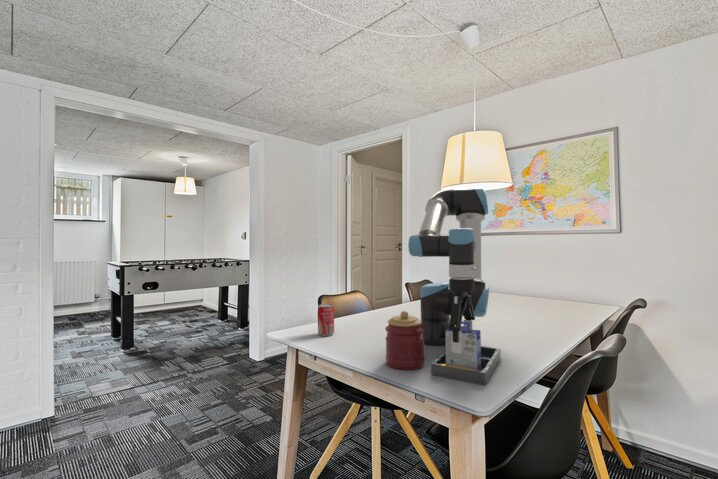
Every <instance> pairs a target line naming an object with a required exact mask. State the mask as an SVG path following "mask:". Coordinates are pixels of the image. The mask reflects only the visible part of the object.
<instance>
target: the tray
mask: <svg viewBox="0 0 718 479" xmlns="http://www.w3.org/2000/svg"><path fill="white" fill-rule="evenodd" d="M501 353H502V352H501V348H498V347H497V348H496V347H491V346H490V347H489V346H482V345H481V370H480V371H478V370H475V369H470V368H464V367H458V366H452V365H446V349H445V350H444V351H443V352H442V353H441V354H440V355H439V356H438V357H436V358H435V359H434V361H432V362H431V363H430V371H431V372H430V373H431V374H430V375H431V376H433V377H434V376H435V377H440V378H444V379H451V380H455V381H461V382H466V383H471V384H476V385H481V386H486V385H487V384H488V382H489V380H490V378H491V377H492V375H493V373H494V372H495V370H496V368H497V366H498V365H499V363H500V361H501V356H502V354H501Z"/></svg>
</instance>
